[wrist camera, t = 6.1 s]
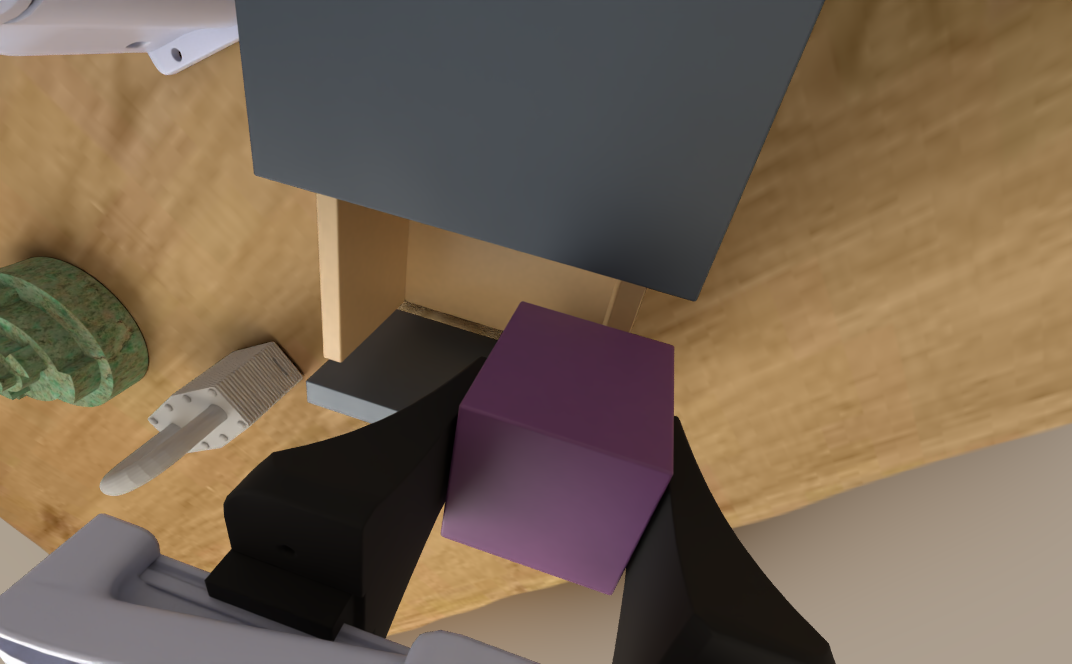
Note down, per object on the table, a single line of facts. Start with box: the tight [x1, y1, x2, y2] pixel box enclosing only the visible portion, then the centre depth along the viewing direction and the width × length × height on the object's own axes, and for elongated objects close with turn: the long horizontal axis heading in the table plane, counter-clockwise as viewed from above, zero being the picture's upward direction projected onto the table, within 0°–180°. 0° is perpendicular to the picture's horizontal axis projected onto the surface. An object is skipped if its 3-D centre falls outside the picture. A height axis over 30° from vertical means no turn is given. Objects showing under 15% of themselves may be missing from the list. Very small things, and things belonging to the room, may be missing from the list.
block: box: [441, 301, 674, 595], centre depth 14 cm, size 5×5×5 cm
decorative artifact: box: [0, 257, 148, 407], centre depth 31 cm, size 10×7×10 cm
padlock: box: [100, 342, 303, 496], centre depth 28 cm, size 7×4×10 cm, turn 120°
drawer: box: [306, 193, 646, 423], centre depth 20 cm, size 19×12×7 cm, turn 169°
